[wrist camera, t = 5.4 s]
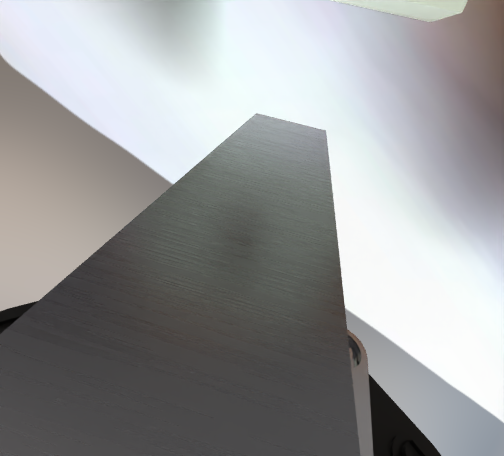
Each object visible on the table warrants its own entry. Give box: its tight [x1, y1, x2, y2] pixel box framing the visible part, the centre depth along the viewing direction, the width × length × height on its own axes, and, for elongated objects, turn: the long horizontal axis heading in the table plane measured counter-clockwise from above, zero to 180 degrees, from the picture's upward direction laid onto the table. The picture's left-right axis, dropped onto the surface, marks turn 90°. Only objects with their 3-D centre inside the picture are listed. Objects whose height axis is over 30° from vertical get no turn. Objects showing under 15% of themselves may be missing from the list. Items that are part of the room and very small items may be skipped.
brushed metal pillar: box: [0, 113, 360, 456], centre depth 9 cm, size 3×8×12 cm, turn 169°
